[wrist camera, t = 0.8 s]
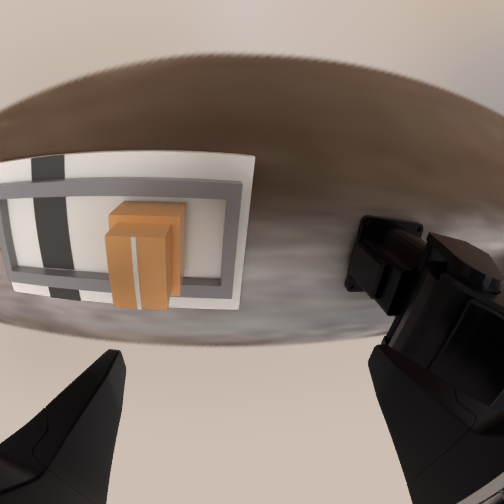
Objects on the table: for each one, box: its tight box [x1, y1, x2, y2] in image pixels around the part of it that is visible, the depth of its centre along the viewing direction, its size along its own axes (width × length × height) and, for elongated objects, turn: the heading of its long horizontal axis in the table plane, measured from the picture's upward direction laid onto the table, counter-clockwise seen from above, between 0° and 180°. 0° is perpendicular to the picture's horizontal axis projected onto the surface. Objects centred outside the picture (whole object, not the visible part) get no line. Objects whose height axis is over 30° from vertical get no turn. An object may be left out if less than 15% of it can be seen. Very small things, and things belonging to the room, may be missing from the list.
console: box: [0, 150, 255, 310], centre depth 17 cm, size 20×11×2 cm, turn 84°
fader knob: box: [105, 201, 186, 310], centre depth 15 cm, size 4×5×5 cm
